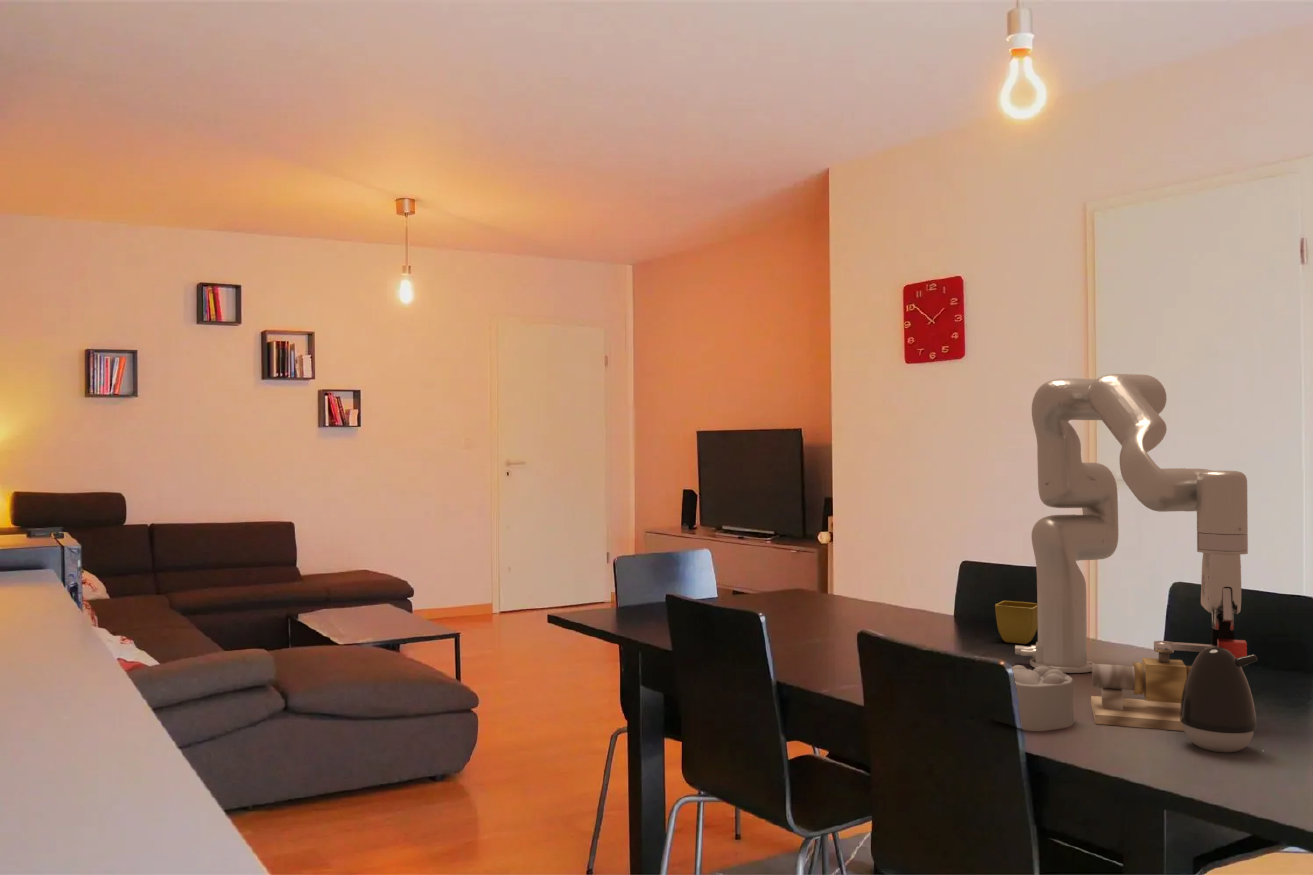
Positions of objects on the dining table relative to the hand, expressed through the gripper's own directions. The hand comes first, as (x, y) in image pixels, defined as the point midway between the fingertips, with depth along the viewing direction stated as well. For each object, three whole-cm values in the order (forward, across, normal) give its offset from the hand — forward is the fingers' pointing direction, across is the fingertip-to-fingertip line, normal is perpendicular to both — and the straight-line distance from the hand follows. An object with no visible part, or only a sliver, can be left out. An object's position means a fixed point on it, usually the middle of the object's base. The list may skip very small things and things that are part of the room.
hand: (1222, 652), depth 174 cm
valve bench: (+11, +4, -9) cm, 15 cm away
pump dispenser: (+11, +20, -4) cm, 23 cm away
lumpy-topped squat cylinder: (+11, +13, -29) cm, 34 cm away
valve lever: (0, +5, -4) cm, 6 cm away
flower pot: (+11, -62, -34) cm, 72 cm away
